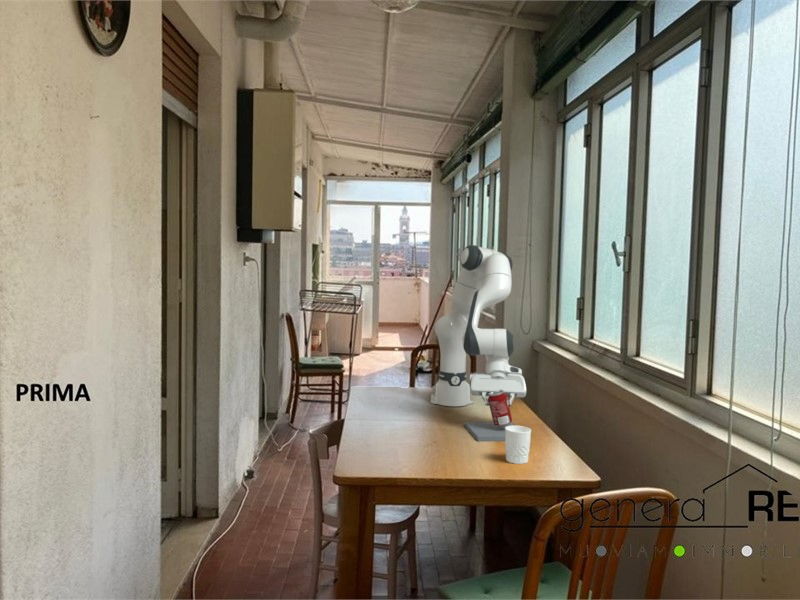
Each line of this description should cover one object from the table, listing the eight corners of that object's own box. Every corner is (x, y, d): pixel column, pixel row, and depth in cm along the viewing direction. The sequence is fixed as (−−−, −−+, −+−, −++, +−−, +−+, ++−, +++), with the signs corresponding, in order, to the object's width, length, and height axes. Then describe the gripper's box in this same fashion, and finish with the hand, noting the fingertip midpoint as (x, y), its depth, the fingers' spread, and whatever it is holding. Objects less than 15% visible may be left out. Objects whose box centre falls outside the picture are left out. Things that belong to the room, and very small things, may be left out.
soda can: (512, 426, 214) (505, 393, 213) (493, 428, 216) (486, 397, 215) (512, 419, 221) (505, 387, 220) (494, 422, 223) (487, 391, 221)
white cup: (501, 456, 192) (502, 425, 191) (525, 456, 192) (527, 425, 192) (507, 464, 184) (508, 432, 183) (533, 464, 185) (534, 432, 184)
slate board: (464, 425, 228) (464, 421, 228) (510, 425, 230) (511, 421, 230) (477, 441, 208) (478, 436, 208) (528, 440, 210) (528, 436, 210)
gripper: (469, 367, 225) (469, 399, 216) (525, 369, 223) (527, 401, 214) (469, 377, 230) (468, 408, 221) (524, 379, 228) (526, 411, 218)
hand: (498, 405), depth 217 cm, fingers closed on soda can, 6 cm apart
